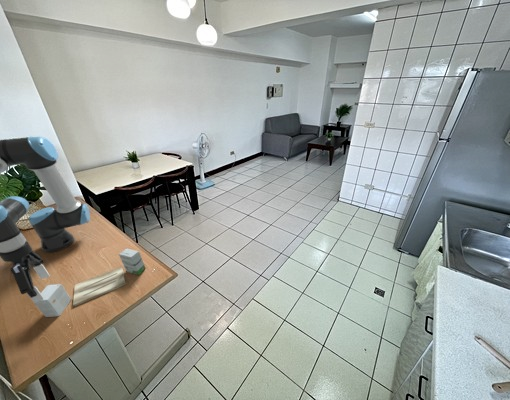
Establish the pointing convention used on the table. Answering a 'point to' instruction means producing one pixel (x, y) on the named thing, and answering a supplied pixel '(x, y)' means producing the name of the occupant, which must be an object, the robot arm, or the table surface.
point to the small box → (53, 300)
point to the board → (98, 286)
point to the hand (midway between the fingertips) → (42, 288)
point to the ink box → (132, 261)
